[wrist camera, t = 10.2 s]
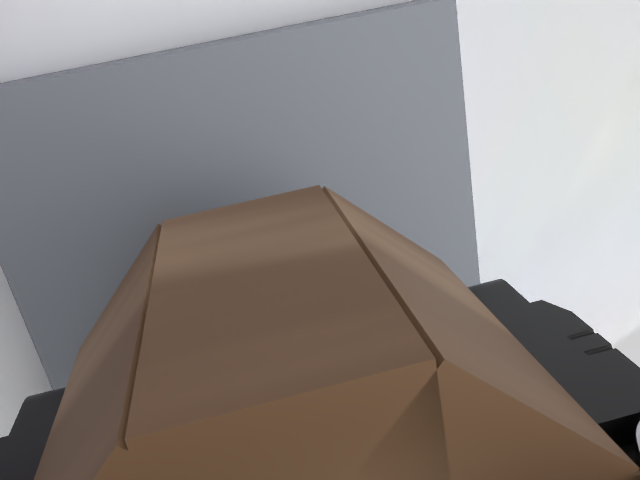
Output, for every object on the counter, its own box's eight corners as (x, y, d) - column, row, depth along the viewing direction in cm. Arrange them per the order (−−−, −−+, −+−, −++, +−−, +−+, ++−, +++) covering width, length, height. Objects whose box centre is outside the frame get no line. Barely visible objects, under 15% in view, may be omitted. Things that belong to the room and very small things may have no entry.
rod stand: (-39, 90, 12) (-880, 396, 3) (429, -3, 14) (1024, -22, 4) (111, 467, 16) (-19, 1154, 7) (467, 373, 17) (811, 846, 8)
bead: (39, 248, 9) (-131, 507, 4) (431, 159, 10) (648, 302, 5) (153, 545, 11) (121, 922, 7) (464, 458, 12) (633, 745, 7)
